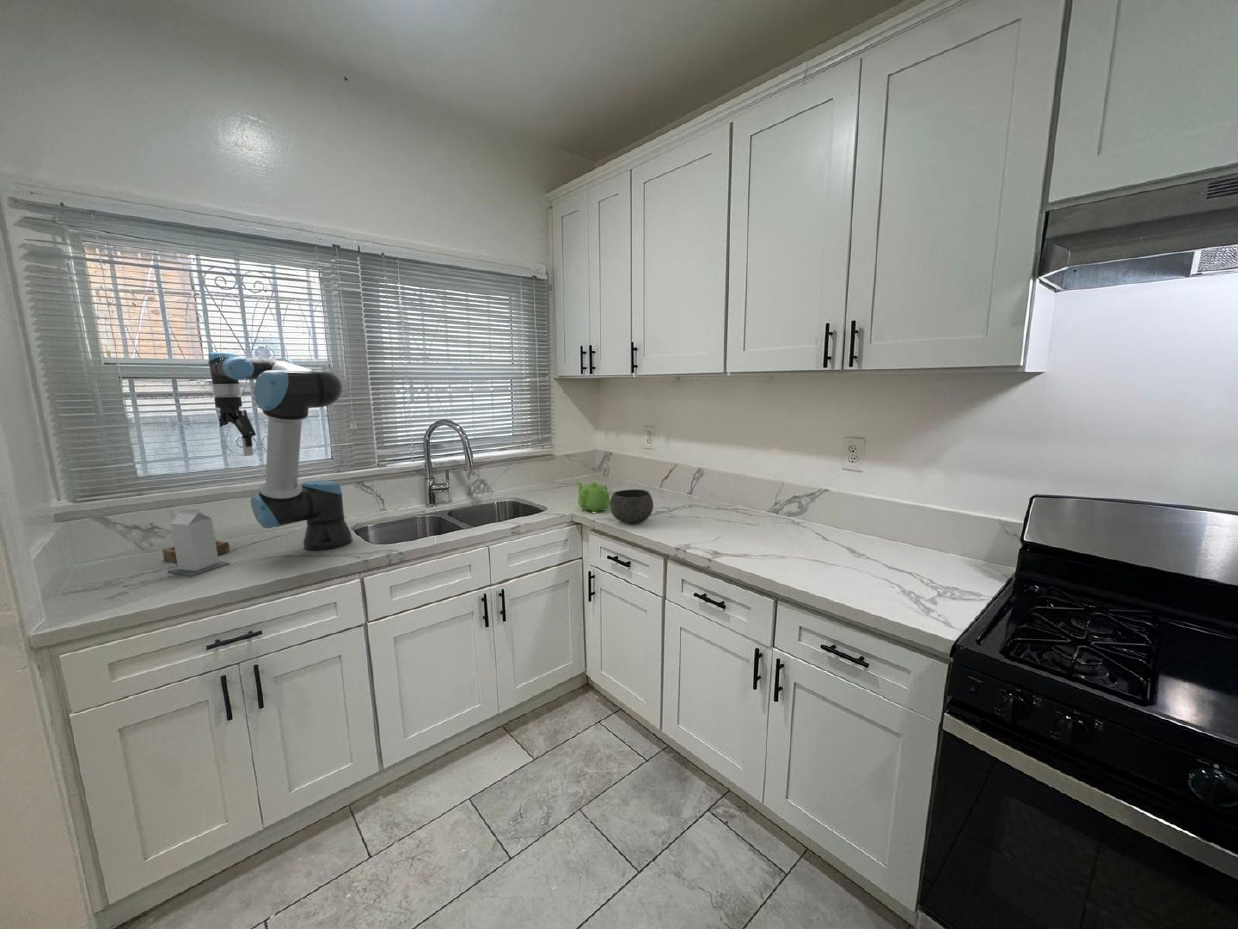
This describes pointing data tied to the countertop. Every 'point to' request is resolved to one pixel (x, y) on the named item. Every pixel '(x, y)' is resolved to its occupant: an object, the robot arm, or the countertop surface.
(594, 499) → the teapot
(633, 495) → the bowl
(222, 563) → the slate mat
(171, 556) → the ring frame
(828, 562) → the countertop surface
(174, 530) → the milk carton
